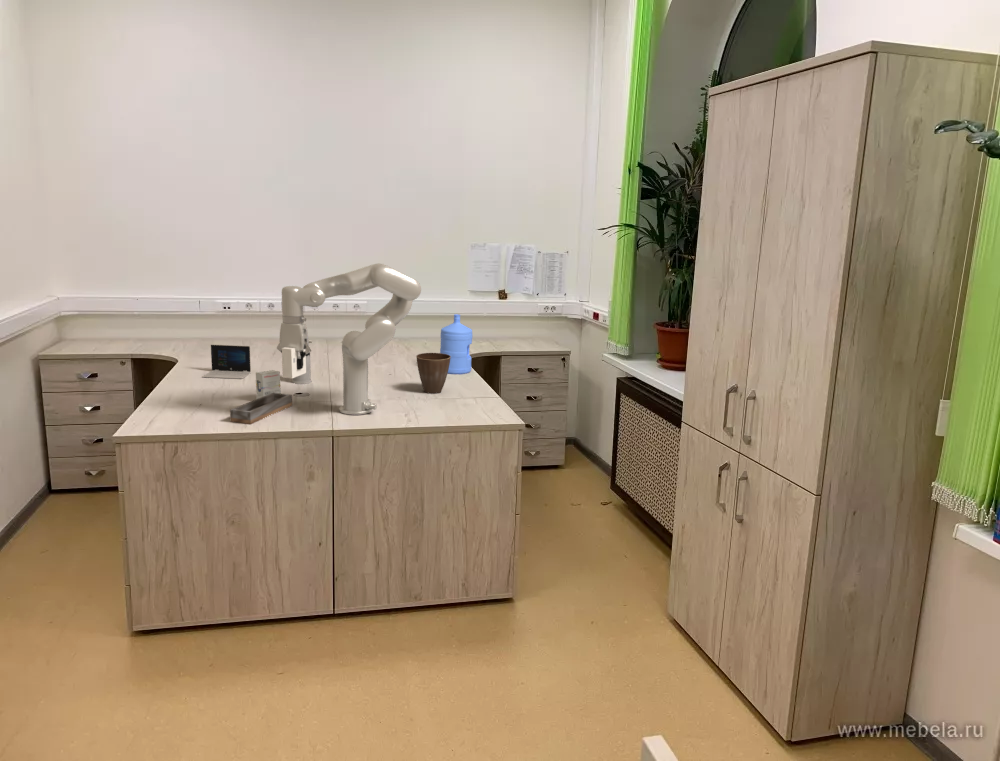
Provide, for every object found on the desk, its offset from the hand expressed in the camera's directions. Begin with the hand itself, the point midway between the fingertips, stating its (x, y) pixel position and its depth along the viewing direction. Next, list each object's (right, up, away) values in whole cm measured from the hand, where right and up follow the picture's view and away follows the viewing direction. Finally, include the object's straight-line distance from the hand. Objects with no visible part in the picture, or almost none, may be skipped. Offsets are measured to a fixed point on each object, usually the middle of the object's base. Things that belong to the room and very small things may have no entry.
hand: (294, 367), depth 286 cm
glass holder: (-14, -5, +57) cm, 59 cm away
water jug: (+55, 0, +91) cm, 106 cm away
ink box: (-17, -13, +24) cm, 32 cm away
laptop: (-47, -3, +62) cm, 78 cm away
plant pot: (+48, -10, +48) cm, 69 cm away
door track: (-13, -17, +5) cm, 22 cm away
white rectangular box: (0, -3, +1) cm, 3 cm away
